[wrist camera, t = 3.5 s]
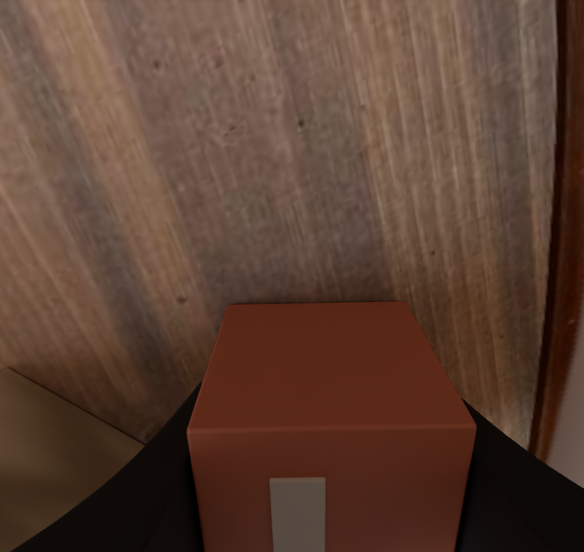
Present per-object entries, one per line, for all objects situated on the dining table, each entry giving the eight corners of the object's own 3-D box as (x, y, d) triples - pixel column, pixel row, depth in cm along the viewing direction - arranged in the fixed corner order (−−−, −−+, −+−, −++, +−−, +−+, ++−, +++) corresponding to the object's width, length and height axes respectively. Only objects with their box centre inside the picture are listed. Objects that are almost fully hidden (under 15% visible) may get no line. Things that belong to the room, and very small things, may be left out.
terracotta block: (393, 440, 14) (447, 617, 9) (239, 442, 14) (211, 620, 9) (406, 300, 12) (481, 429, 7) (227, 303, 12) (183, 435, 7)
